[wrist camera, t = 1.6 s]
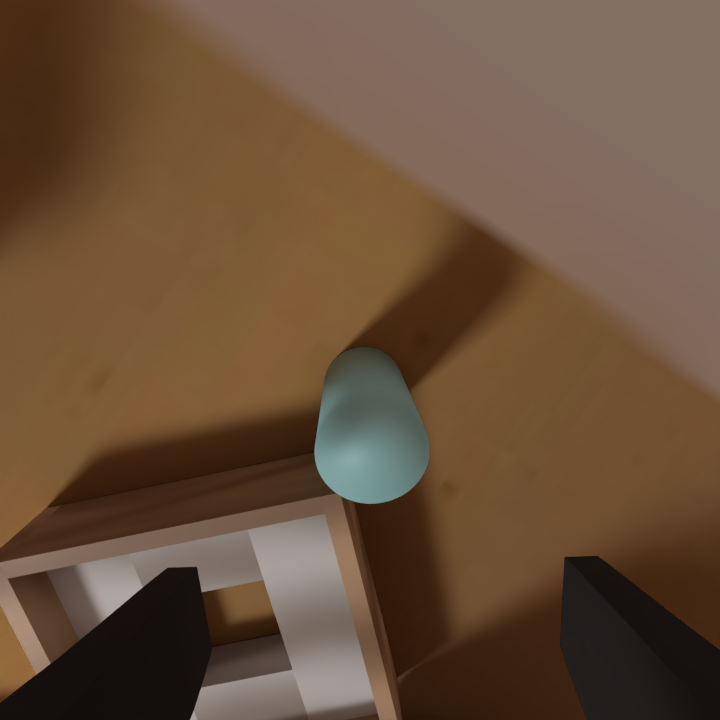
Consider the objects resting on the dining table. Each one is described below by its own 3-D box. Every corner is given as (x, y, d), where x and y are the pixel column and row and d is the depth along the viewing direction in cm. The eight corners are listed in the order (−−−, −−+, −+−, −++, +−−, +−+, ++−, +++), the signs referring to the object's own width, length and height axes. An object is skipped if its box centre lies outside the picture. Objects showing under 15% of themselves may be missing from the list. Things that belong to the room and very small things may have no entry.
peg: (316, 355, 18) (302, 411, 12) (394, 339, 17) (419, 387, 12) (334, 428, 18) (328, 513, 13) (408, 412, 18) (438, 491, 12)
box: (45, 508, 19) (-21, 566, 15) (340, 447, 19) (340, 492, 15) (146, 727, 22) (110, 814, 19) (397, 678, 22) (406, 757, 19)
